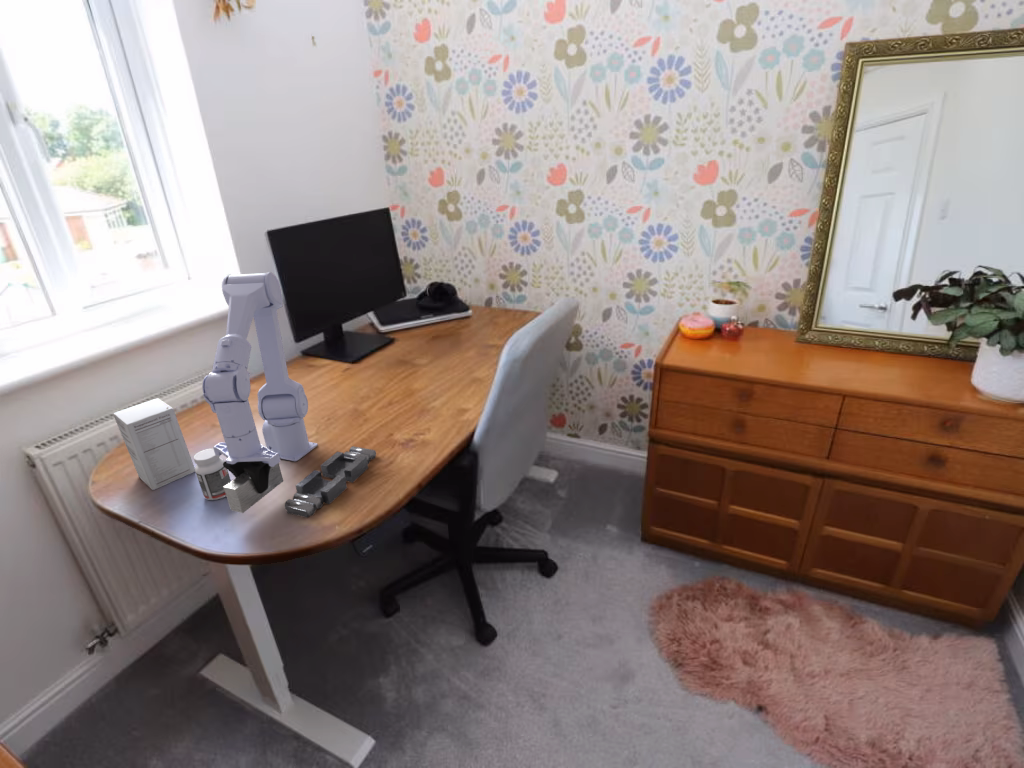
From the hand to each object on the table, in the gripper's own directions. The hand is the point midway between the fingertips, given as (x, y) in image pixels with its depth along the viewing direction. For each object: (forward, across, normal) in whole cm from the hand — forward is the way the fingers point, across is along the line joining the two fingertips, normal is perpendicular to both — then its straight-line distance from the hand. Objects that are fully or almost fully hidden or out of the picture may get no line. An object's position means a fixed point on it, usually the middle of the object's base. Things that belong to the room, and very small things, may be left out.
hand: (256, 489), depth 106 cm
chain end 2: (+5, +8, +19) cm, 22 cm away
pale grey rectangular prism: (+2, 0, 0) cm, 2 cm away
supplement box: (+6, -32, +4) cm, 33 cm away
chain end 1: (+5, +8, +6) cm, 12 cm away
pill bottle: (+6, -14, +2) cm, 15 cm away
